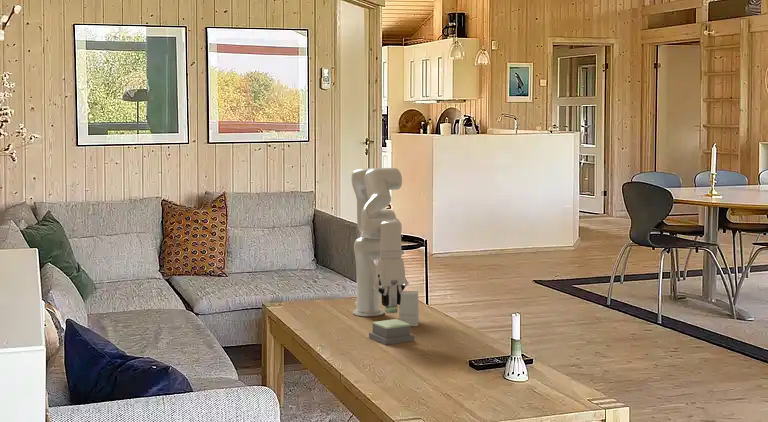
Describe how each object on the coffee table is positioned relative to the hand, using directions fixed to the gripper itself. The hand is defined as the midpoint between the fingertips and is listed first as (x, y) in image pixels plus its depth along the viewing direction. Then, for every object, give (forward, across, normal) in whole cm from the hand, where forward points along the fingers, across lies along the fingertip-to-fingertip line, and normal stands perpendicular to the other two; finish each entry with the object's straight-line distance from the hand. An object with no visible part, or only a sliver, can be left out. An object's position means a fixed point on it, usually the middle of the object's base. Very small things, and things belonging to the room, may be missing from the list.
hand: (391, 304), depth 353 cm
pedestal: (+13, 0, 0) cm, 13 cm away
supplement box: (+13, -18, -17) cm, 28 cm away
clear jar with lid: (+3, 0, 0) cm, 3 cm away
